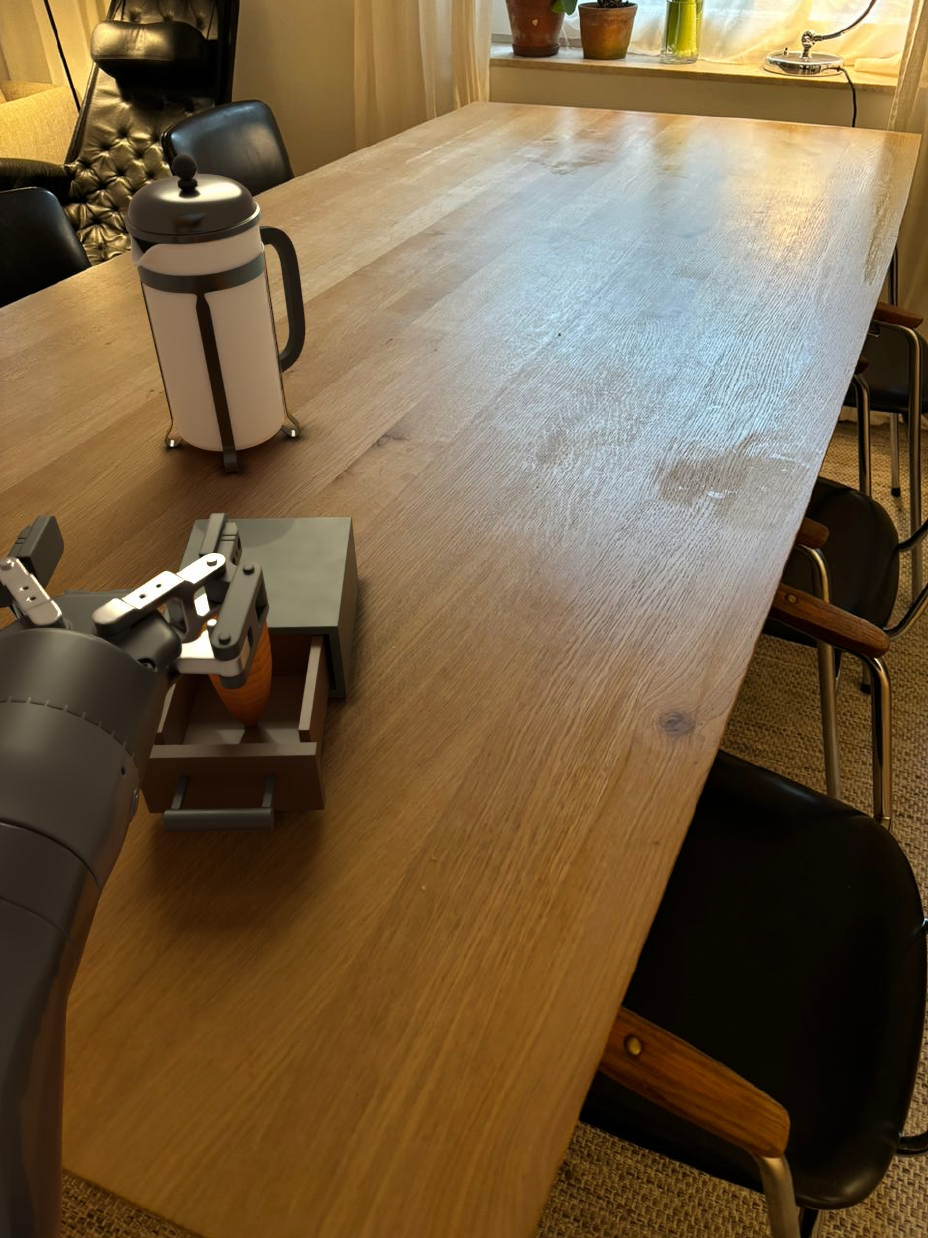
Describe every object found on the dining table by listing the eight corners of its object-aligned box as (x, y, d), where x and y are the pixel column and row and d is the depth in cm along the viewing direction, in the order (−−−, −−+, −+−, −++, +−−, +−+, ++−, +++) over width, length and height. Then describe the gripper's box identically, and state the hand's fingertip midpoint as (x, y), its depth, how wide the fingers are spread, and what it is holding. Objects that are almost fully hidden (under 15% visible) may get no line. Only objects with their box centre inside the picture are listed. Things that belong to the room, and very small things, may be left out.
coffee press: (307, 471, 106) (268, 175, 86) (156, 478, 105) (82, 182, 86) (314, 394, 119) (282, 122, 100) (180, 399, 118) (121, 127, 99)
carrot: (251, 693, 78) (218, 537, 68) (298, 719, 75) (271, 562, 66) (204, 731, 75) (163, 573, 65) (252, 760, 72) (217, 601, 63)
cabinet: (346, 697, 80) (338, 626, 75) (178, 700, 80) (158, 629, 75) (358, 584, 91) (351, 516, 86) (210, 587, 91) (195, 518, 86)
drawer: (318, 861, 67) (308, 806, 63) (134, 865, 67) (113, 810, 63) (339, 677, 80) (332, 623, 77) (186, 680, 80) (172, 626, 77)
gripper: (207, 704, 35) (269, 461, 47) (-197, 711, 35) (-30, 466, 47) (240, 835, 40) (289, 584, 52) (-114, 842, 40) (18, 589, 52)
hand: (137, 528), depth 50 cm, fingers open, 8 cm apart
